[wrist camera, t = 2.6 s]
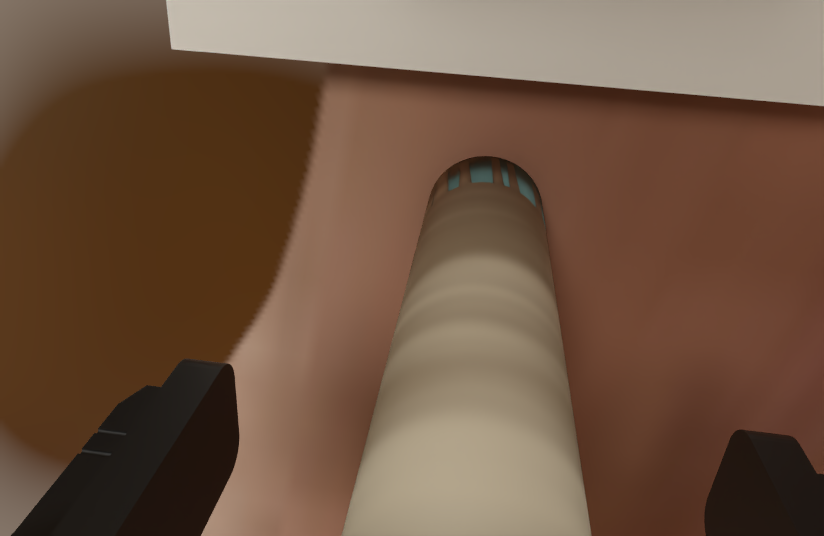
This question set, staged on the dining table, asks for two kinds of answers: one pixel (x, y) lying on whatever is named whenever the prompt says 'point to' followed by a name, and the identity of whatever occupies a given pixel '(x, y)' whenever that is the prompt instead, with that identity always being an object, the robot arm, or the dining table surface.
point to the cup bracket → (536, 40)
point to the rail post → (475, 377)
